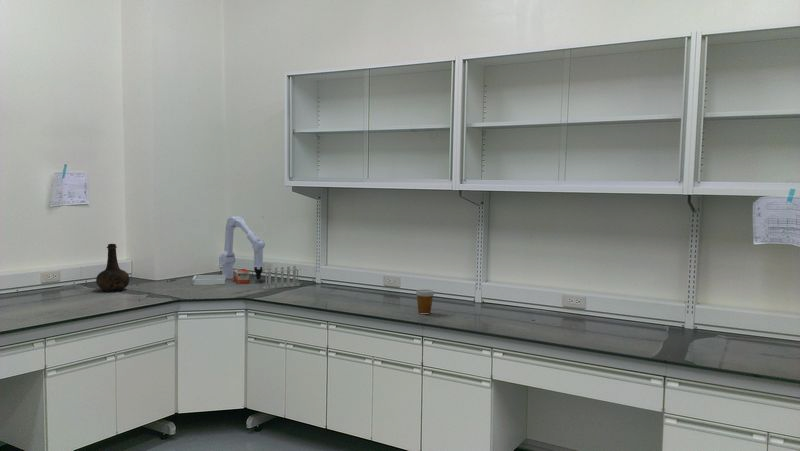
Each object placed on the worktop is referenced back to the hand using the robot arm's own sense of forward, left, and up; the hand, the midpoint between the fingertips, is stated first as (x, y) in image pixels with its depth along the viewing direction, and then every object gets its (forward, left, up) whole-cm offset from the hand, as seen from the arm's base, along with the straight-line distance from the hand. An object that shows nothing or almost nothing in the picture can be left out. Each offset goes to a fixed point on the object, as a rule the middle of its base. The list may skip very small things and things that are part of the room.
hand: (258, 278), depth 393 cm
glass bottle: (+22, -85, -2) cm, 88 cm away
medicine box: (0, -11, -3) cm, 11 cm away
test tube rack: (+22, +15, -2) cm, 26 cm away
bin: (0, -31, -2) cm, 31 cm away
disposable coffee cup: (+112, +83, -2) cm, 139 cm away
